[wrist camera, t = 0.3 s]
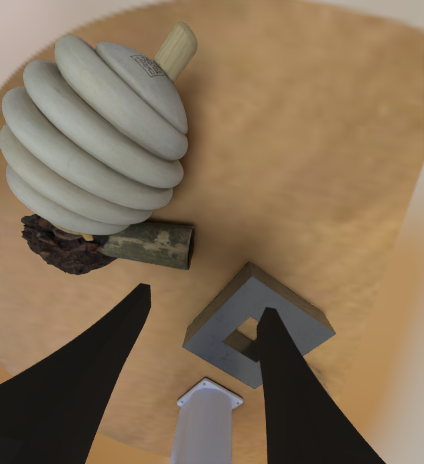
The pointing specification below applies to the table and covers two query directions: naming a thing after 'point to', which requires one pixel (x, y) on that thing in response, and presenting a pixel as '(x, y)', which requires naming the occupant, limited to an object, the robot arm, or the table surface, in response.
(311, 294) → the table surface
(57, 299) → the table surface
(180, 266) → the tube with rough end
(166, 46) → the toy sheep
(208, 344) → the grey slab with hole
